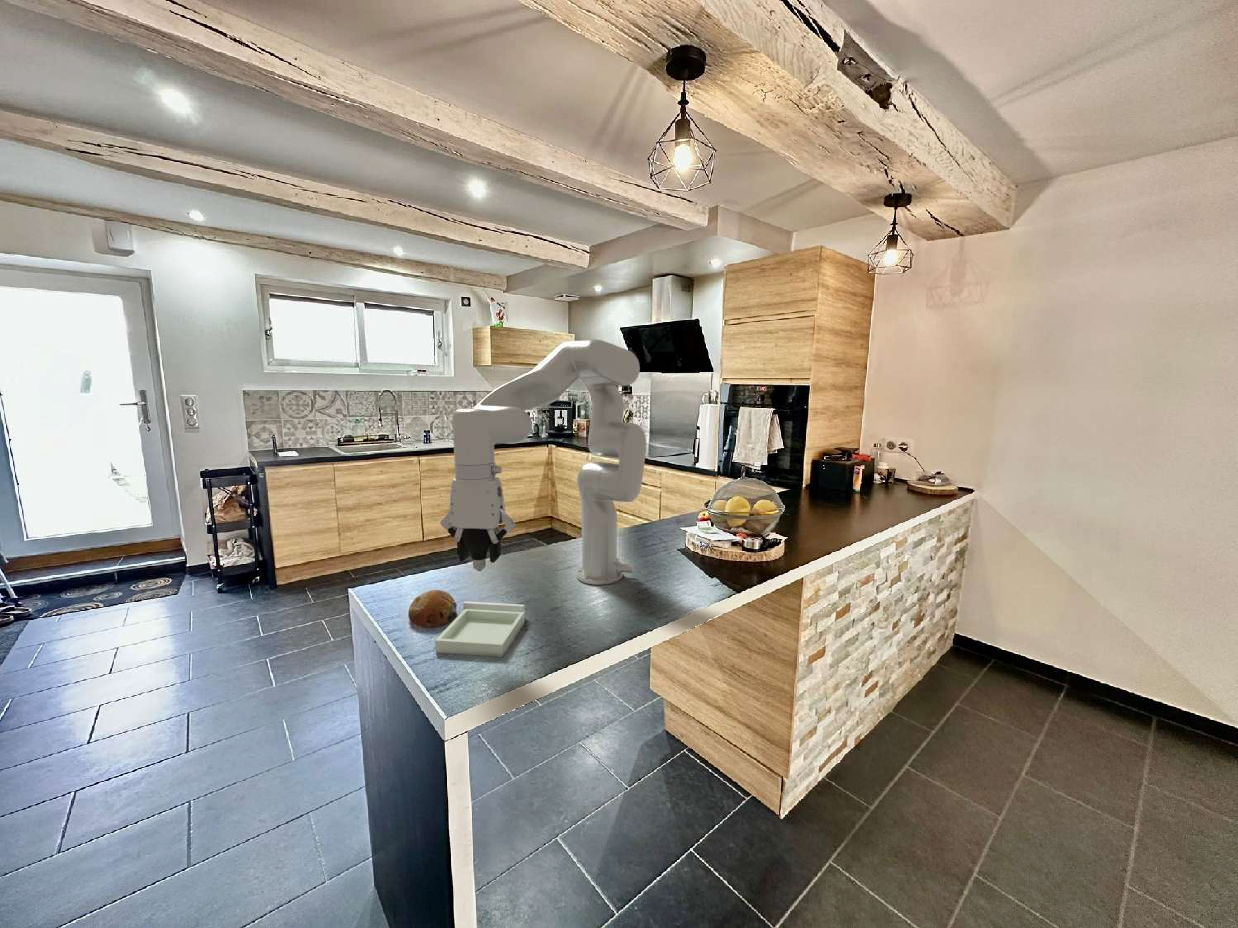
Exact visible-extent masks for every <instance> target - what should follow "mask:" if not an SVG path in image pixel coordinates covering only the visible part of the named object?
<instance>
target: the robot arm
mask: <svg viewBox="0 0 1238 928" xmlns="http://www.w3.org/2000/svg"><path fill="white" fill-rule="evenodd" d="M640 368H641V367H640V362H639V359H638V357H637V356H636V355H635V354H634V353H633V352H632V351H631V350H628V349H627V348H623V347H621V346H618V345H616V344H613V343H610V342H608V341H605V340H602V339H596V338H594V339H593V338H591V339H590V338H589V339H578V340H577V339H576V340H569V341H568V340H567V341H565V342H562V343H561V344H560V345H558V346H557V347H556V348H555V349H554V350H553V351H552V352H550V354H548V355H547V356H546V357H545V358H544V359H543V360H542V361H541V362H540V363H538V364H537V365H536V366H535V367H534V368H533V369H531V370H530V371H529V372H526V373H525V374H522V375H520V376H519V377H517V378H515V379H513V380H511V381H509V382H507V383H504V384H503V385H501V386H499V387H498V388H496V389H494V390H493V391H491V392H490V393H489V394H487V395H486V396H485V397H484V398H483V399H482V400H480V401H479V402H477V404H476V405H475V406H474V408H459V409H457V410H455V411H454V412H453V413H452V418H451V421H452V436H453V437H452V439H453V457H454V475H455V476H454V478H452V482H451V488H450V495H449V512H448V513H447V514H446V515H445V516H444V517H443V518H442V520H441V521H440V523H439V524H440V526H442V528H443V529H445V530H446V531H447V533H449V535H450V536H451V537H452V538H453V541H454V542H456V549H457V551H456V553H457V556H458V559H459V560H458V561H460V562H464V561H465V560H466V559H467V558H469V557H470V551H469V549H468V548H467V547H466V546H465V544H464V541H463V535H464V532H465V530H466V529H484V530H487V531H488V533H489V536H490V538H491V543H490V544H489V549H488V550H489V562H490V563H495V562H496V561H497V560H498V559H499V558H500V557H501V551H502V550H501V540H502V539H503V538H504V537H505V536H506V535H507V534H508V532H510V531H511V530H512V529H513V528H514V527H516V522H515V521H514V520H513V519H512V518H511V517H510V516H509V515H508V514H507V513H506V506H505V497H504V493H503V487H502V483H501V478H500V477H499V476H496V475H498V474H501V473H502V471H503V470H502V469H503V468H502V466H498V465H497V463H496V462H495V444H509V445H510V444H511V445H512V444H519V443H521V442H523V441H525V440H526V439H527V438H528V437H529V436H530V434H531V432H532V429H533V422H532V419H531V416H530V415H529V413H528V412H527V410H531V409H534V408H539V407H540V408H541V407H544V406H546V405H549V404H552V403H554V402H556V401H557V400H559V399H560V398H561V396H562V395H563V394H565V392H566V391H567V390H568V389H569V388H570V387H571V386H572V385H573V384H575V383H576V382H577V380H579V379H581V381H582V383H583V384H584V386H585V388H586V389H587V390H588V393H589V395H590V399H591V414H590V422H589V431H588V437H587V447H588V450H589V452H590V453H591V454H592V455H594V456H596V457H600V458H601V457H602V458H609V459H618V463H614V462H613V463H612V462H604V461H603V462H602V461H590V462H587V463H585V464H584V465H582V466H581V468H580V469H578V473H577V477H576V478H577V479H576V481H577V488H578V493H579V494H578V495H579V498H580V506H581V507H580V508H581V567H580V568H578V570H577V571H576V578H577V580H578V581H580V582H582V583H584V584H588V585H593V586H594V585H595V586H596V585H600V586H603V585H610V584H614V583H616V582H618V581H620V580H621V579H622V578H623V573H626V574H633V573H634V565H630V563H627V562H626V563H623V562H621V561H620V557H618V514H617V513H618V512H617V508H616V506H615V503H614V502H620V503H631V502H633V501H635V500H636V499H637V498H638V497H639V495H640V491H641V489H642V485H643V478H644V477H643V476H644V470H645V461H646V460H645V459H646V455H647V454H646V453H647V438H646V437H647V436H646V434H645V431H644V429H643V428H642V426H641V425H639V424H638V423H634V422H624V411H625V410H624V409H625V403H624V399H623V397H622V394H621V393H620V391H619V389H618V388H617V386H620V387H623V386H624V387H625V386H630V385H632V384H634V383H635V382H636V380H637V379H638V377H639V375H640V370H641V369H640ZM501 524H504V527H503V528H502V529H500V526H499V525H501Z"/></svg>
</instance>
